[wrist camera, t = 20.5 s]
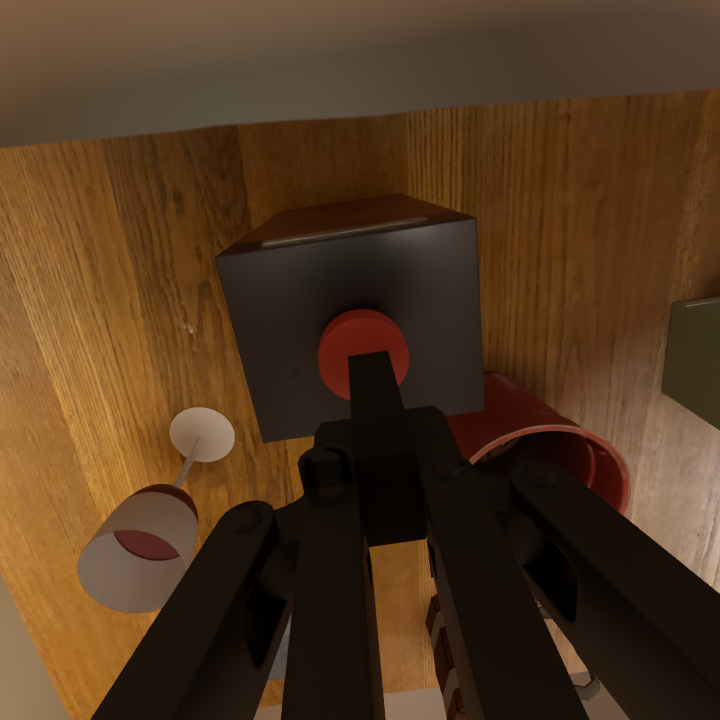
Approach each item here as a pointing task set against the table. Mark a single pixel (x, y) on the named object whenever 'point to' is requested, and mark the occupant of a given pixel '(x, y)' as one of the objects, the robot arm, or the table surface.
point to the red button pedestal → (355, 304)
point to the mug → (448, 672)
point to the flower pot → (537, 440)
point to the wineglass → (154, 526)
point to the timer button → (359, 346)
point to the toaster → (695, 358)
